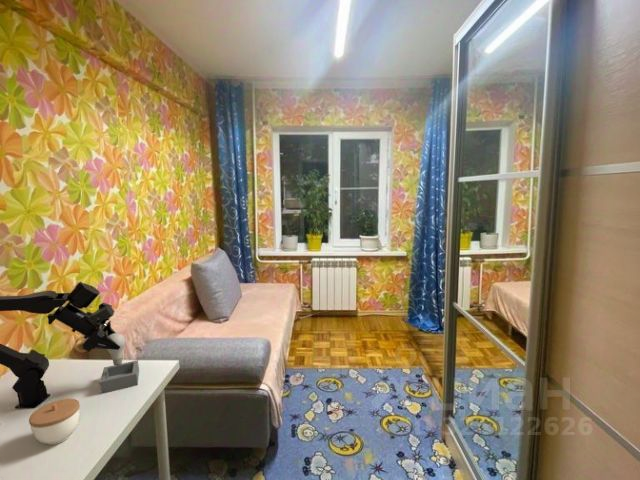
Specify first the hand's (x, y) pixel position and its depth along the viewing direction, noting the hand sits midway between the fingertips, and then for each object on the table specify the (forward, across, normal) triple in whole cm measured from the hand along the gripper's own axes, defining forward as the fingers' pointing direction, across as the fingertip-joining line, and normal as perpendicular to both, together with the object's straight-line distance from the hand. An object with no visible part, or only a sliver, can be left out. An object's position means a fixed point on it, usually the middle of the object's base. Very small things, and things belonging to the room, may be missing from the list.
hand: (120, 344), depth 120 cm
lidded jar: (0, -23, +19) cm, 30 cm away
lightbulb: (+4, -1, +6) cm, 7 cm away
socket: (+8, 0, +10) cm, 13 cm away
